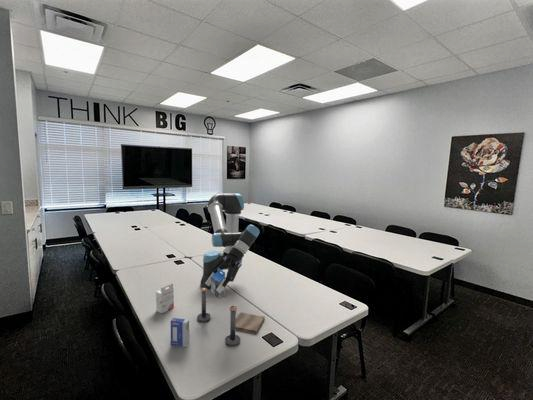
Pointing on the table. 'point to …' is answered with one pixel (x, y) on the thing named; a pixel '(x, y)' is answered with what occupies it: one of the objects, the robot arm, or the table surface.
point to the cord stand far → (203, 308)
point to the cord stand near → (232, 329)
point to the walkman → (179, 332)
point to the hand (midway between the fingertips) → (212, 288)
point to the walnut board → (249, 322)
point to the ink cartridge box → (165, 299)
